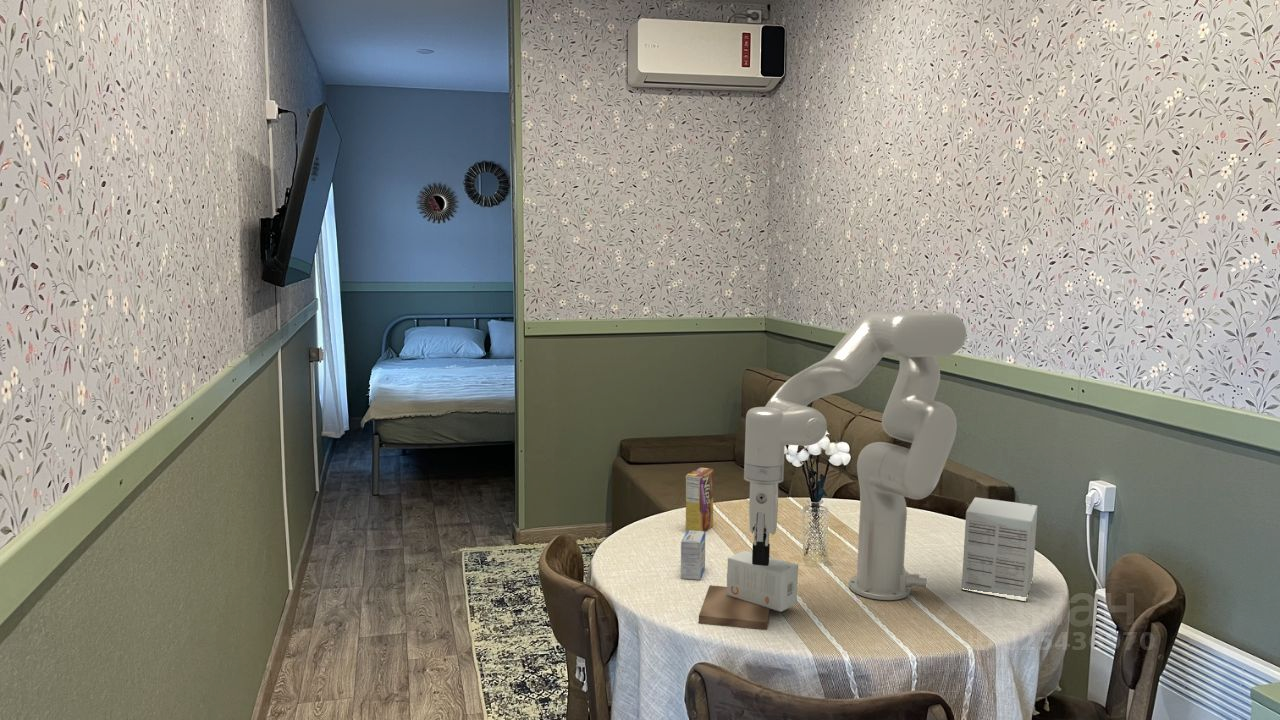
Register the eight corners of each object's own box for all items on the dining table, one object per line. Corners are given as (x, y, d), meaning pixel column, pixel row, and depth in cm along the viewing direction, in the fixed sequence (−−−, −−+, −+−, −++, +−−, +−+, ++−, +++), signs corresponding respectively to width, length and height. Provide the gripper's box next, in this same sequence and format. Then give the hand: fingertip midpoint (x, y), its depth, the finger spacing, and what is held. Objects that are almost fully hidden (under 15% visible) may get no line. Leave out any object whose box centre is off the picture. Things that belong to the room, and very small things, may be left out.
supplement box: (969, 571, 203) (974, 496, 200) (1033, 582, 196) (1038, 504, 194) (959, 591, 191) (964, 511, 189) (1027, 603, 185) (1032, 520, 183)
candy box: (698, 523, 235) (699, 466, 233) (713, 526, 233) (715, 468, 231) (684, 533, 227) (685, 474, 225) (699, 536, 225) (701, 476, 223)
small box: (799, 564, 178) (743, 549, 186) (783, 573, 173) (726, 557, 182) (797, 603, 179) (742, 586, 188) (781, 613, 174) (725, 595, 183)
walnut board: (772, 597, 186) (772, 590, 185) (766, 629, 170) (767, 622, 170) (709, 592, 188) (709, 585, 188) (698, 623, 173) (698, 615, 173)
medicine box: (700, 580, 195) (701, 542, 194) (680, 579, 196) (680, 540, 194) (705, 568, 202) (706, 531, 201) (685, 566, 203) (686, 529, 202)
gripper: (781, 483, 165) (778, 579, 167) (785, 464, 179) (781, 553, 181) (740, 480, 166) (737, 575, 168) (747, 461, 181) (744, 550, 183)
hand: (760, 563), depth 175 cm, fingers closed
